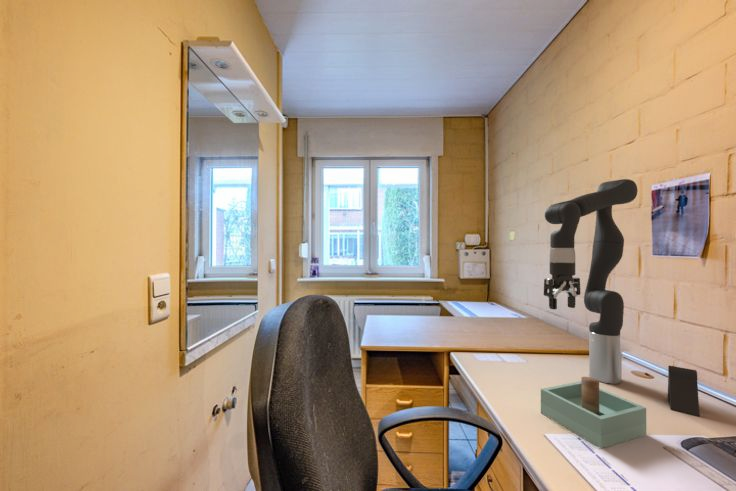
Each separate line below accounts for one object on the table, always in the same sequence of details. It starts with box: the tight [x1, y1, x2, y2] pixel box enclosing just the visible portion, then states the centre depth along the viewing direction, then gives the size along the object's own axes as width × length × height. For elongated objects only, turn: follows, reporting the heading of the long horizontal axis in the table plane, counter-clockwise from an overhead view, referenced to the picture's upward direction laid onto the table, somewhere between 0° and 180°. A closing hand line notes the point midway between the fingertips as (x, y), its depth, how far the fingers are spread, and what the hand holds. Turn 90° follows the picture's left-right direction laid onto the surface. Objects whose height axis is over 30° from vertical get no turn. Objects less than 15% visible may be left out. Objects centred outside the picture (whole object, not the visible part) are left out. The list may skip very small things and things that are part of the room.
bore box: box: [540, 380, 647, 449], centre depth 85 cm, size 17×17×7 cm
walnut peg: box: [580, 376, 600, 415], centre depth 85 cm, size 4×4×12 cm
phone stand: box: [667, 365, 700, 417], centre depth 94 cm, size 9×6×12 cm, turn 139°
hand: (562, 308), depth 105 cm, fingers open, 8 cm apart
